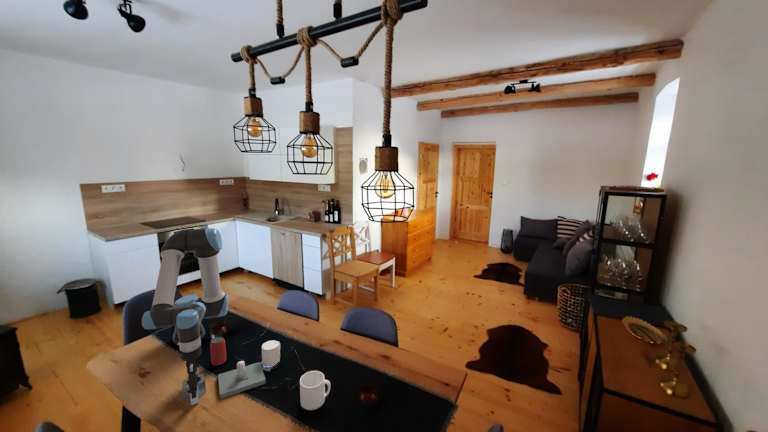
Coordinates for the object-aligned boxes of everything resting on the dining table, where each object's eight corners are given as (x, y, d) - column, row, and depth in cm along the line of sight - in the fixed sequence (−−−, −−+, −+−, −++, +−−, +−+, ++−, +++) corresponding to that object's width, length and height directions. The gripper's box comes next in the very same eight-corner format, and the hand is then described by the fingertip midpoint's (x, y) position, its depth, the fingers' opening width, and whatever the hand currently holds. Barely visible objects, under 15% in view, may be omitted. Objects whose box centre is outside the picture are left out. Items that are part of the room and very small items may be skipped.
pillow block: (218, 378, 137) (216, 360, 136) (260, 365, 147) (259, 348, 145) (220, 399, 126) (218, 379, 124) (265, 383, 135) (264, 365, 133)
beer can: (220, 367, 145) (218, 344, 143) (208, 365, 146) (206, 342, 144) (229, 358, 151) (227, 336, 149) (218, 356, 153) (216, 335, 150)
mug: (296, 409, 121) (295, 386, 119) (305, 390, 131) (304, 369, 129) (327, 412, 120) (326, 389, 118) (333, 393, 130) (333, 372, 128)
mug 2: (271, 352, 142) (257, 349, 144) (272, 369, 144) (258, 366, 146) (285, 338, 154) (271, 335, 156) (286, 354, 155) (272, 352, 157)
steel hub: (184, 390, 130) (182, 378, 129) (205, 383, 134) (204, 371, 133) (183, 403, 123) (182, 390, 122) (206, 395, 127) (204, 383, 126)
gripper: (181, 335, 133) (185, 377, 137) (177, 367, 112) (183, 417, 116) (200, 330, 137) (204, 372, 141) (201, 361, 116) (205, 409, 120)
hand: (195, 392), depth 128 cm, fingers open, 13 cm apart
